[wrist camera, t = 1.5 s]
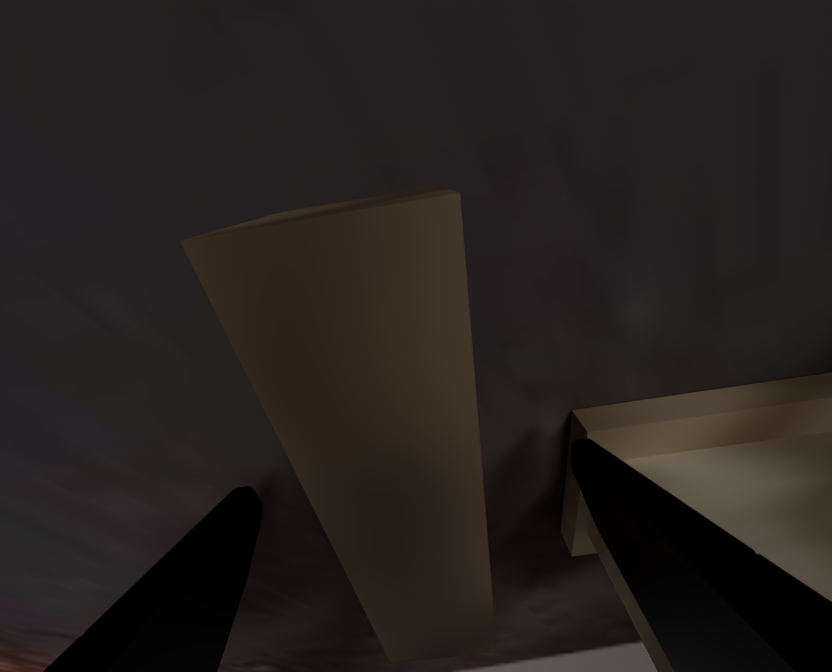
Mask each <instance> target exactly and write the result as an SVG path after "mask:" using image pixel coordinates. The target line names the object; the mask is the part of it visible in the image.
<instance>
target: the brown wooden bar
mask: <svg viewBox="0 0 832 672" xmlns="http://www.w3.org/2000/svg"><path fill="white" fill-rule="evenodd" d="M180 242H181V244H182V246H183V248H184V250H185V252H186V254H187V256H188V258H189V260H190V262H191V264H192V266H193V268H194V270H195V272H196V274H197V276H198V278H199V280H200V282H201V284H202V286H203V288H204V290H205V292H206V294H207V296H208V298H209V300H210V302H211V304H212V306H213V308H214V310H215V312H216V314H217V316H218V318H219V320H220V322H221V324H222V326H223V328H224V330H225V332H226V334H227V336H228V338H229V340H230V342H231V344H232V346H233V348H234V350H235V352H236V354H237V356H238V358H239V360H240V362H241V364H242V366H243V368H244V370H245V372H246V374H247V376H248V378H249V380H250V383H251V385H252V387H253V389H254V391H255V393H256V395H257V397H258V399H259V401H260V403H261V405H262V407H263V409H264V411H265V413H266V415H267V417H268V419H269V421H270V423H271V425H272V427H273V429H274V431H275V433H276V435H277V437H278V439H279V441H280V443H281V445H282V447H283V449H284V451H285V453H286V455H287V457H288V459H289V461H290V463H291V465H292V467H293V469H294V471H295V473H296V475H297V477H298V479H299V481H300V483H301V485H302V487H303V489H304V491H305V493H306V495H307V497H308V499H309V501H310V503H311V505H312V507H313V509H314V511H315V513H316V515H317V517H318V519H319V521H320V523H321V525H322V527H323V529H324V531H325V533H326V535H327V537H328V539H329V541H330V543H331V545H332V547H333V549H334V551H335V553H336V555H337V557H338V559H339V561H340V563H341V565H342V567H343V569H344V571H345V573H346V575H347V577H348V579H349V581H350V583H351V585H352V587H353V589H354V591H355V593H356V595H357V597H358V599H359V601H360V603H361V605H362V607H363V609H364V611H365V613H366V615H367V617H368V619H369V621H370V623H371V625H372V627H373V629H374V631H375V633H376V635H377V637H378V639H379V641H380V643H381V645H382V647H383V649H384V651H385V653H386V655H387V657H388V659H389V661H390V663H393V662H403V661H413V660H422V659H432V658H442V657H451V656H461V655H471V654H481V653H490V652H497V645H496V633H495V621H494V608H493V596H492V584H491V571H490V559H489V546H488V534H487V522H486V509H485V497H484V484H483V472H482V460H481V447H480V435H479V423H478V410H477V398H476V385H475V373H474V361H473V348H472V336H471V324H470V311H469V299H468V286H467V274H466V262H465V249H464V237H463V224H462V212H461V200H460V193H459V192H456V191H452V190H449V189H446V188H442V187H439V186H436V185H433V186H427V187H421V188H416V189H410V190H404V191H398V192H393V193H387V194H381V195H375V196H370V197H364V198H358V199H352V200H347V201H341V202H335V203H329V204H324V205H318V206H312V207H306V208H301V209H295V210H289V211H283V212H280V213H276V214H273V215H269V216H266V217H262V218H259V219H255V220H252V221H248V222H245V223H241V224H238V225H234V226H231V227H227V228H224V229H220V230H217V231H213V232H210V233H206V234H203V235H199V236H196V237H192V238H189V239H185V240H182V241H180Z"/></svg>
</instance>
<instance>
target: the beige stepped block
mask: <svg viewBox="0 0 832 672" xmlns="http://www.w3.org/2000/svg"><path fill="white" fill-rule="evenodd" d="M582 438H589V439H591V440H593V441H594V442H596V443H597V444H599V445H600V446H602V447H603V448H605V449H606V450H607V451H609V452H610V453H612V454H613V455H615V456H616V457H618V458H619V459H621V460H622V461H624V462H625V463H627V464H628V465H630V466H631V467H633V468H634V469H635V470H637V471H638V472H640V473H641V474H643V475H644V476H646V477H647V478H649V479H650V480H652V481H653V482H655V483H656V484H658V485H659V486H661V487H662V488H663V489H665V490H666V491H668V492H669V493H671V494H672V495H674V496H675V497H677V498H678V499H680V500H681V501H683V502H684V503H686V504H687V505H688V506H690V507H691V508H693V509H694V510H696V511H697V512H699V513H700V514H702V515H703V516H705V517H706V518H708V519H709V520H711V521H712V522H714V523H715V524H716V525H718V526H719V527H721V528H722V529H724V530H725V531H727V532H728V533H730V534H731V535H733V536H734V537H736V538H737V539H739V540H740V541H741V542H743V543H744V544H746V545H747V546H749V547H750V548H752V549H753V550H754V551H755V552H756V554H761V555H762V556H764V557H765V558H767V559H768V560H770V561H771V562H773V563H774V564H776V565H777V566H779V567H780V568H781V569H783V570H784V571H786V572H787V573H789V574H790V575H792V576H794V577H795V578H797V579H798V580H800V581H801V582H803V583H804V584H806V585H807V586H809V587H810V588H812V589H813V590H815V591H816V592H818V593H819V594H821V595H822V596H824V597H825V598H827V599H829V600H830V601H832V372H831V373H824V374H817V375H810V376H803V377H797V378H790V379H783V380H776V381H769V382H762V383H755V384H749V385H742V386H735V387H728V388H721V389H714V390H708V391H701V392H694V393H687V394H680V395H673V396H666V397H660V398H653V399H646V400H639V401H632V402H625V403H618V404H612V405H605V406H598V407H591V408H584V409H577V410H572V415H571V426H570V437H569V447H568V458H567V469H566V480H565V490H564V501H563V512H562V523H561V533H562V536H563V538H564V540H565V542H566V545H567V547H568V549H569V552H570V554H571V556H579V555H587V554H595V553H597V554H598V556H599V558H600V559H601V561H602V563H603V565H604V567H605V569H606V571H607V573H608V575H609V577H610V579H611V581H612V583H613V585H614V587H615V589H616V591H617V593H618V595H619V597H620V599H621V601H622V602H623V604H624V606H625V608H626V610H627V612H628V614H629V616H630V618H631V620H632V622H633V624H634V626H635V628H636V630H637V632H638V634H639V636H640V638H641V640H642V642H643V644H644V645H645V647H646V649H647V651H648V653H649V655H650V657H651V659H652V661H653V663H654V665H655V667H656V669H657V671H658V672H674V670H673V668H672V666H671V664H670V663H669V661H668V659H667V657H666V655H665V653H664V652H663V650H662V648H661V646H660V644H659V642H658V640H657V639H656V637H655V635H654V633H653V631H652V629H651V628H650V626H649V624H648V622H647V620H646V618H645V616H644V615H643V613H642V611H641V609H640V607H639V605H638V604H637V602H636V600H635V598H634V596H633V594H632V592H631V591H630V589H629V587H628V585H627V583H626V581H625V580H624V578H623V576H622V574H621V572H620V570H619V568H618V567H617V565H616V563H615V561H614V559H613V557H612V556H611V554H610V552H609V550H608V548H607V546H606V544H605V543H604V541H603V539H602V537H601V535H600V533H599V531H598V529H597V527H596V525H595V523H594V520H593V518H592V516H591V513H590V511H589V509H588V506H587V504H586V502H585V499H584V497H583V495H582V492H581V490H580V487H579V485H578V483H577V480H576V478H575V476H574V473H573V471H572V468H571V464H570V455H571V445H572V441H573V440H575V439H582Z"/></svg>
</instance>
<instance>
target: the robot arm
mask: <svg viewBox="0 0 832 672" xmlns="http://www.w3.org/2000/svg"><path fill="white" fill-rule="evenodd" d="M570 464H571V468H572V471H573V473H574V476H575V478H576V480H577V483H578V485H579V487H580V490H581V492H582V495H583V497H584V499H585V502H586V504H587V506H588V509H589V511H590V513H591V516H592V518H593V520H594V523H595V525H596V527H597V529H598V531H599V533H600V535H601V537H602V539H603V541H604V543H605V544H606V546H607V548H608V550H609V552H610V554H611V556H612V557H613V559H614V561H615V563H616V565H617V567H618V568H619V570H620V572H621V574H622V576H623V578H624V580H625V581H626V583H627V585H628V587H629V589H630V591H631V592H632V594H633V596H634V598H635V600H636V602H637V604H638V605H639V607H640V609H641V611H642V613H643V615H644V616H645V618H646V620H647V622H648V624H649V626H650V628H651V629H652V631H653V633H654V635H655V637H656V639H657V640H658V642H659V644H660V646H661V648H662V650H663V652H664V653H665V655H666V657H667V659H668V661H669V663H670V664H671V666H672V668H673V670H674V672H832V601H830V600H829V599H827V598H825V597H824V596H822V595H821V594H819V593H818V592H816V591H815V590H813V589H812V588H810V587H809V586H807V585H806V584H804V583H803V582H801V581H800V580H798V579H797V578H795V577H794V576H792V575H790V574H789V573H787V572H786V571H784V570H783V569H781V568H780V567H779V566H777V565H776V564H774V563H773V562H771V561H770V560H768V559H767V558H765V557H764V556H762V555H761V554H756V552H755V551H754V550H753V549H752V548H750V547H749V546H747V545H746V544H744V543H743V542H741V541H740V540H739V539H737V538H736V537H734V536H733V535H731V534H730V533H728V532H727V531H725V530H724V529H722V528H721V527H719V526H718V525H716V524H715V523H714V522H712V521H711V520H709V519H708V518H706V517H705V516H703V515H702V514H700V513H699V512H697V511H696V510H694V509H693V508H691V507H690V506H688V505H687V504H686V503H684V502H683V501H681V500H680V499H678V498H677V497H675V496H674V495H672V494H671V493H669V492H668V491H666V490H665V489H663V488H662V487H661V486H659V485H658V484H656V483H655V482H653V481H652V480H650V479H649V478H647V477H646V476H644V475H643V474H641V473H640V472H638V471H637V470H635V469H634V468H633V467H631V466H630V465H628V464H627V463H625V462H624V461H622V460H621V459H619V458H618V457H616V456H615V455H613V454H612V453H610V452H609V451H607V450H606V449H605V448H603V447H602V446H600V445H599V444H597V443H596V442H594V441H593V440H591V439H589V438H582V439H575V440H573V441H572V445H571V455H570ZM262 514H263V505H262V502H261V500H260V499H259V497H258V496H257V494H256V492H255V491H254V489H253V488H252V487H250V486H245V487H239V488H235V489H234V490H233V491H231V492H230V493H229V494H228V495H227V496H226V497H225V498H224V499H223V500H222V501H221V502H220V503H219V504H218V505H217V506H216V507H215V508H214V509H213V510H212V511H210V512H209V513H208V514H207V515H206V516H205V517H204V518H203V519H202V520H201V521H200V522H199V523H198V524H197V525H196V526H195V527H194V528H193V529H192V530H191V531H190V532H189V533H188V534H186V535H185V536H184V537H183V538H182V539H181V540H180V541H179V542H178V543H177V544H176V545H175V546H174V547H173V548H172V549H171V550H170V551H169V552H168V553H167V554H166V555H165V556H164V557H162V558H161V559H160V560H159V561H158V562H157V563H156V564H155V565H154V566H153V567H152V568H151V569H150V570H149V571H148V572H147V573H146V574H145V575H144V576H143V577H142V578H141V579H140V580H138V581H137V582H136V583H135V584H134V585H133V586H132V587H131V588H130V589H129V590H128V591H127V592H126V593H125V594H124V595H123V596H122V597H121V598H120V599H119V600H118V601H117V602H116V603H114V604H113V605H112V606H111V607H110V608H109V609H108V610H107V611H106V612H105V613H104V614H103V615H102V616H101V617H100V618H99V619H98V620H97V621H96V622H95V623H94V624H93V625H91V626H90V627H89V628H88V629H87V630H86V631H85V632H84V634H83V636H81V637H79V638H78V639H77V640H76V641H75V642H74V643H73V644H72V645H71V646H69V647H68V648H67V649H66V650H65V651H64V652H63V653H62V654H61V655H60V656H59V657H58V658H57V659H56V660H55V661H54V662H53V663H52V664H51V665H49V666H48V667H47V668H46V669H45V670H44V671H43V672H217V671H218V668H219V665H220V662H221V659H222V656H223V653H224V650H225V646H226V643H227V640H228V637H229V634H230V631H231V628H232V625H233V621H234V618H235V615H236V612H237V609H238V606H239V603H240V600H241V596H242V593H243V590H244V587H245V584H246V581H247V577H248V574H249V570H250V566H251V562H252V558H253V554H254V549H255V545H256V540H257V536H258V531H259V527H260V523H261V518H262Z"/></svg>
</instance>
